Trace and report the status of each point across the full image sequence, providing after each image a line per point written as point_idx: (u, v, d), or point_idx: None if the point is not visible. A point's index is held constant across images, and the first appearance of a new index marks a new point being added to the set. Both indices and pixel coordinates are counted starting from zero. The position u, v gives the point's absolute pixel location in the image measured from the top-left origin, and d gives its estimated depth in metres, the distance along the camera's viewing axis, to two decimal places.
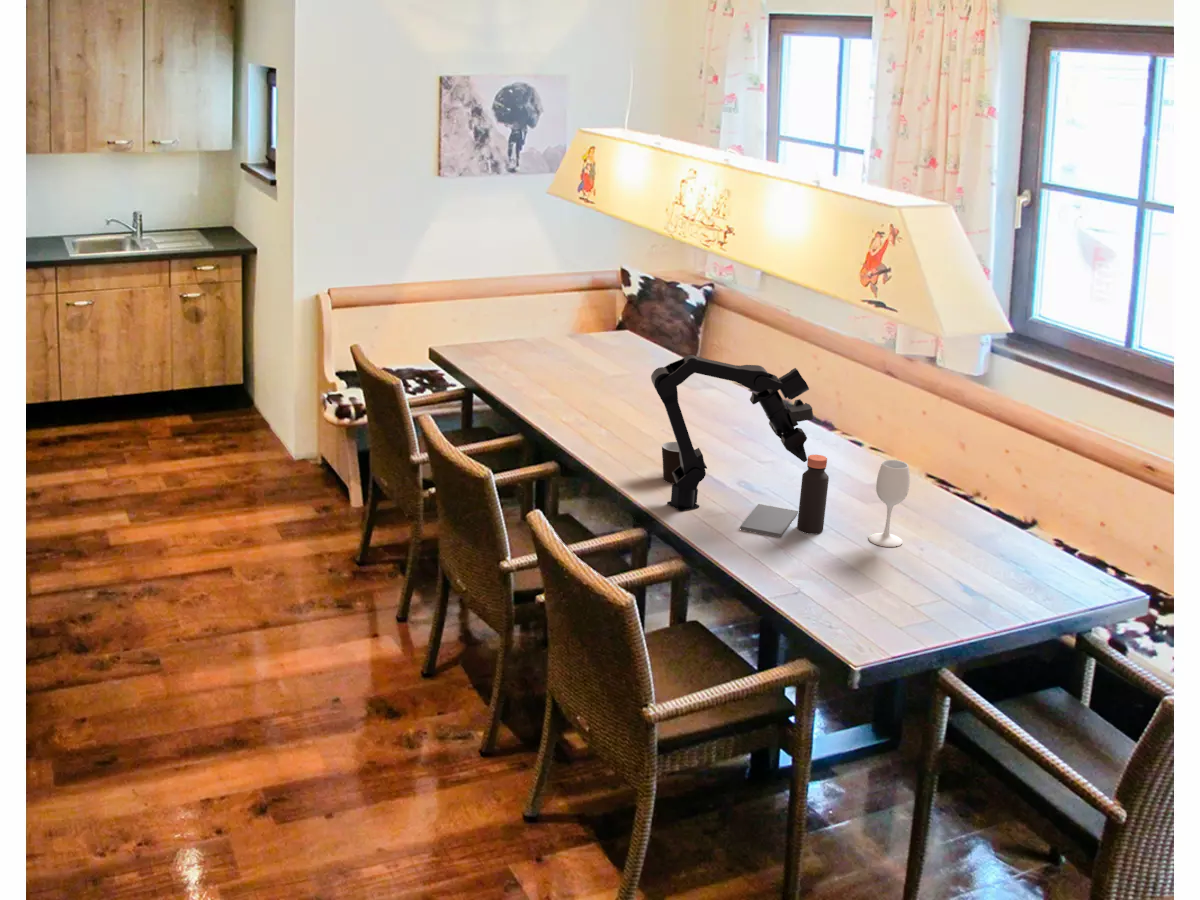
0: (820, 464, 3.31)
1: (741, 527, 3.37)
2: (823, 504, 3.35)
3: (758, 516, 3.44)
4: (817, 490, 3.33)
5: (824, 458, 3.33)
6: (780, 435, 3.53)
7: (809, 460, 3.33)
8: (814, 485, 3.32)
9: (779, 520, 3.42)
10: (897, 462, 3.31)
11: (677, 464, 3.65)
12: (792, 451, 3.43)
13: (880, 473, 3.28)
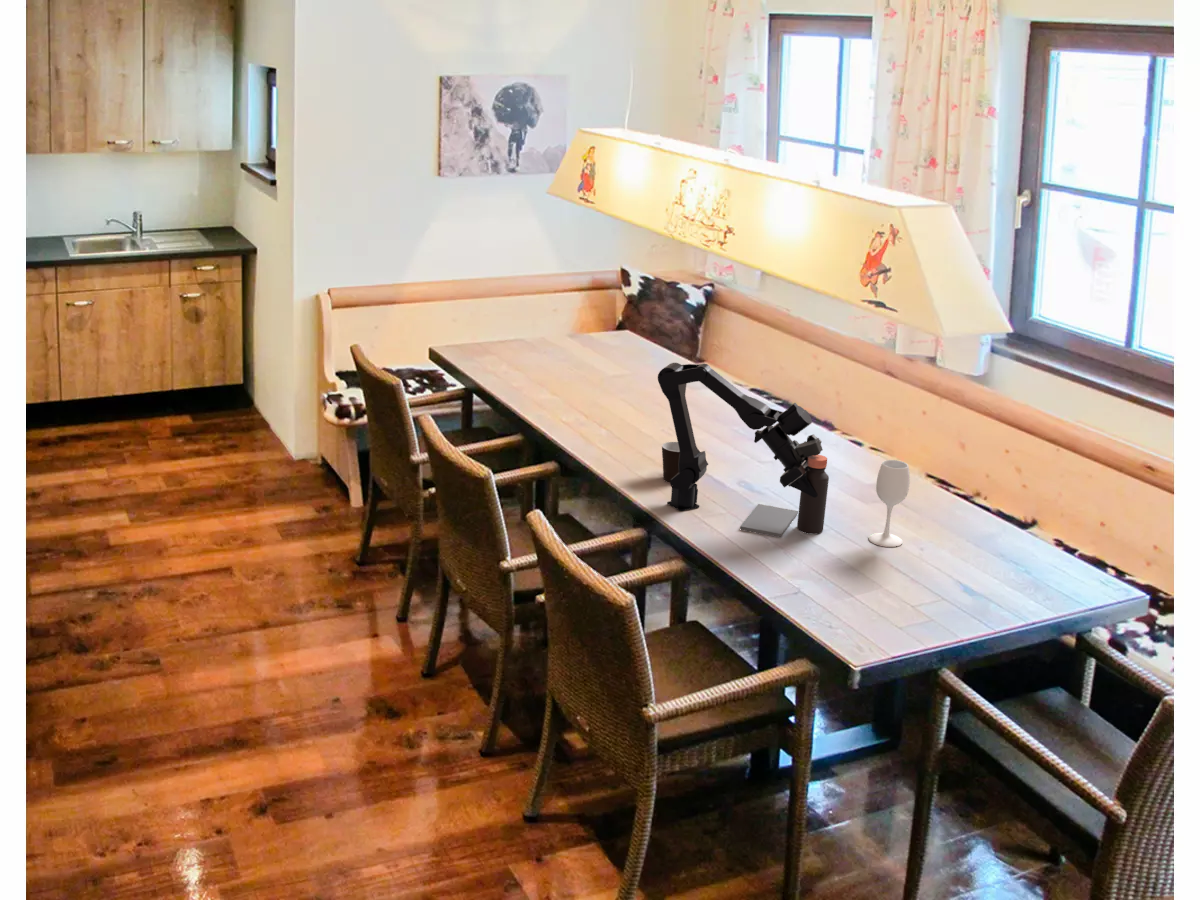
0: (820, 464, 3.31)
1: (741, 527, 3.37)
2: (823, 504, 3.35)
3: (758, 516, 3.44)
4: (817, 490, 3.33)
5: (824, 458, 3.33)
6: None
7: (809, 460, 3.33)
8: (814, 485, 3.32)
9: (779, 520, 3.42)
10: (897, 462, 3.31)
11: (677, 464, 3.65)
12: (796, 487, 3.32)
13: (880, 473, 3.28)
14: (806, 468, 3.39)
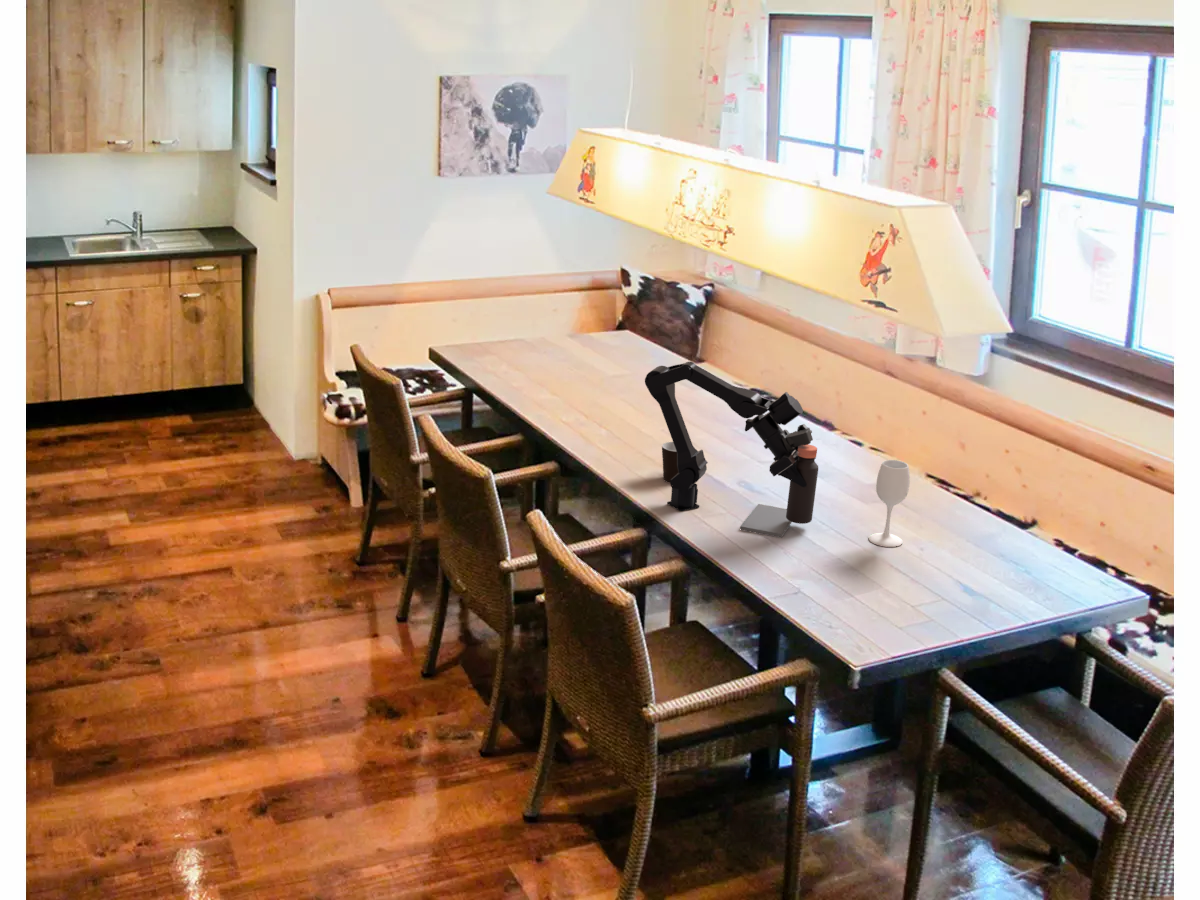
0: (810, 454, 3.32)
1: (741, 527, 3.37)
2: (812, 494, 3.35)
3: (758, 516, 3.44)
4: (807, 480, 3.33)
5: (814, 448, 3.33)
6: None
7: (799, 450, 3.33)
8: (803, 474, 3.33)
9: (779, 520, 3.42)
10: (897, 462, 3.31)
11: None
12: (786, 476, 3.33)
13: (880, 473, 3.28)
14: (796, 458, 3.40)
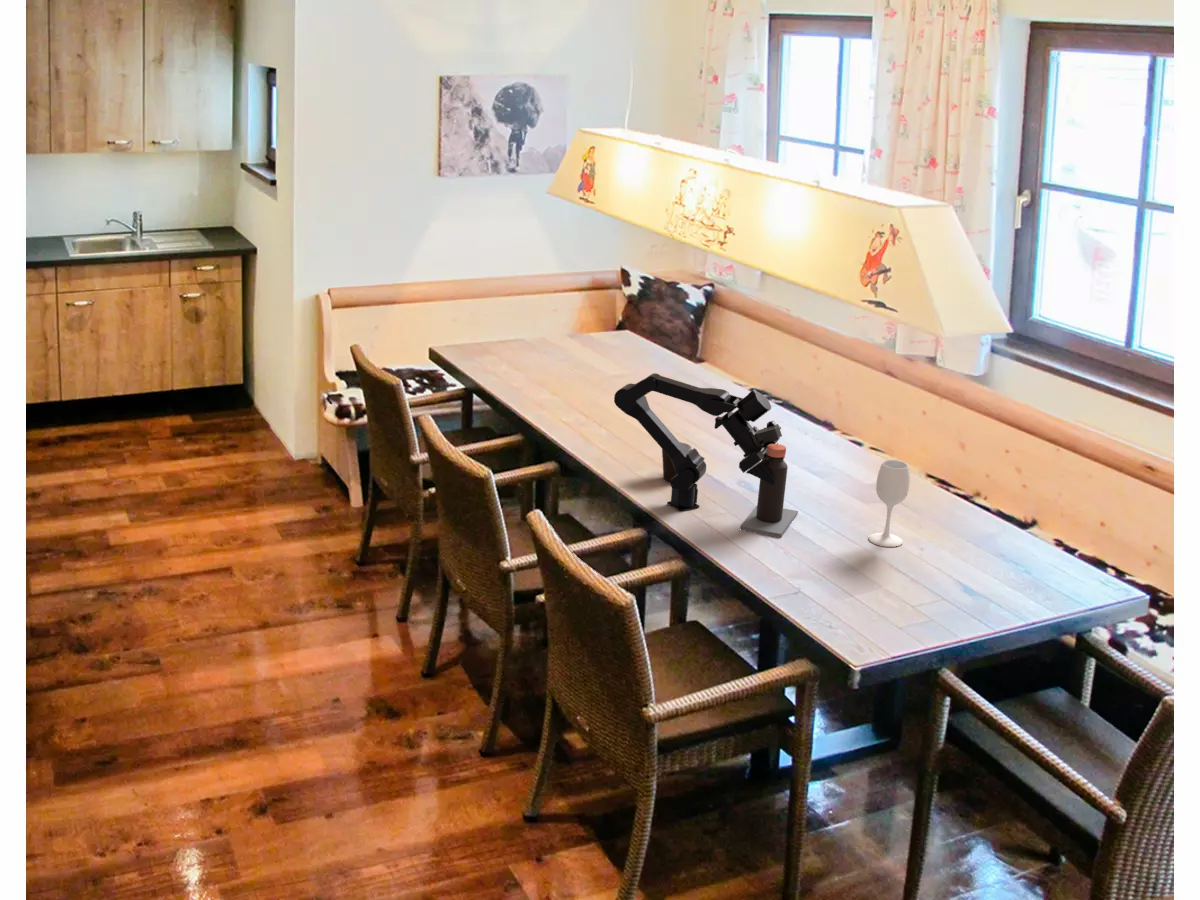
0: (779, 453, 3.35)
1: (741, 527, 3.37)
2: (782, 493, 3.38)
3: None
4: (776, 479, 3.36)
5: (783, 447, 3.36)
6: (763, 459, 3.44)
7: (768, 449, 3.36)
8: (773, 474, 3.36)
9: None
10: (897, 462, 3.31)
11: None
12: (754, 474, 3.34)
13: (880, 473, 3.28)
14: None
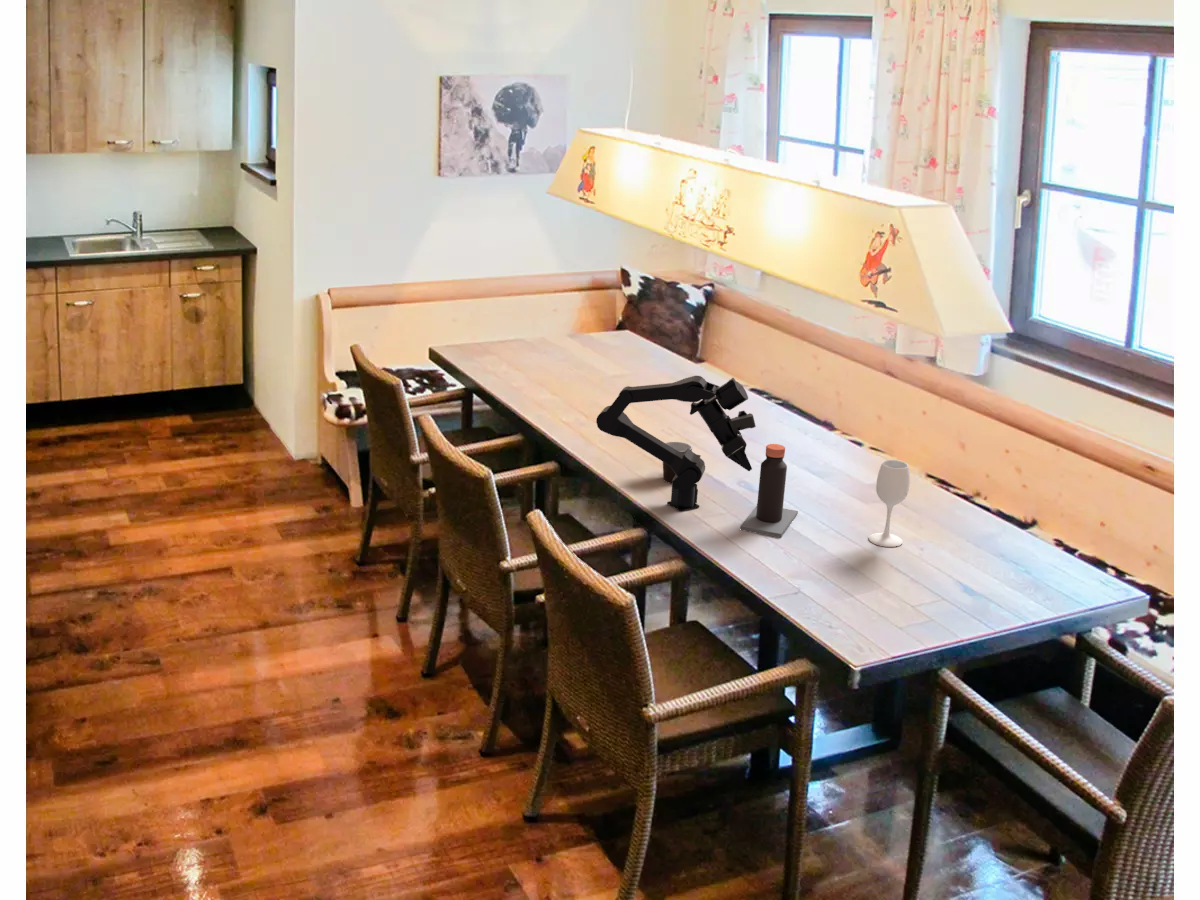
0: (778, 453, 3.35)
1: (741, 527, 3.37)
2: (782, 493, 3.38)
3: None
4: (776, 479, 3.36)
5: (782, 447, 3.36)
6: None
7: (767, 449, 3.36)
8: (772, 474, 3.36)
9: None
10: (897, 462, 3.31)
11: None
12: (734, 459, 3.37)
13: (880, 473, 3.28)
14: None
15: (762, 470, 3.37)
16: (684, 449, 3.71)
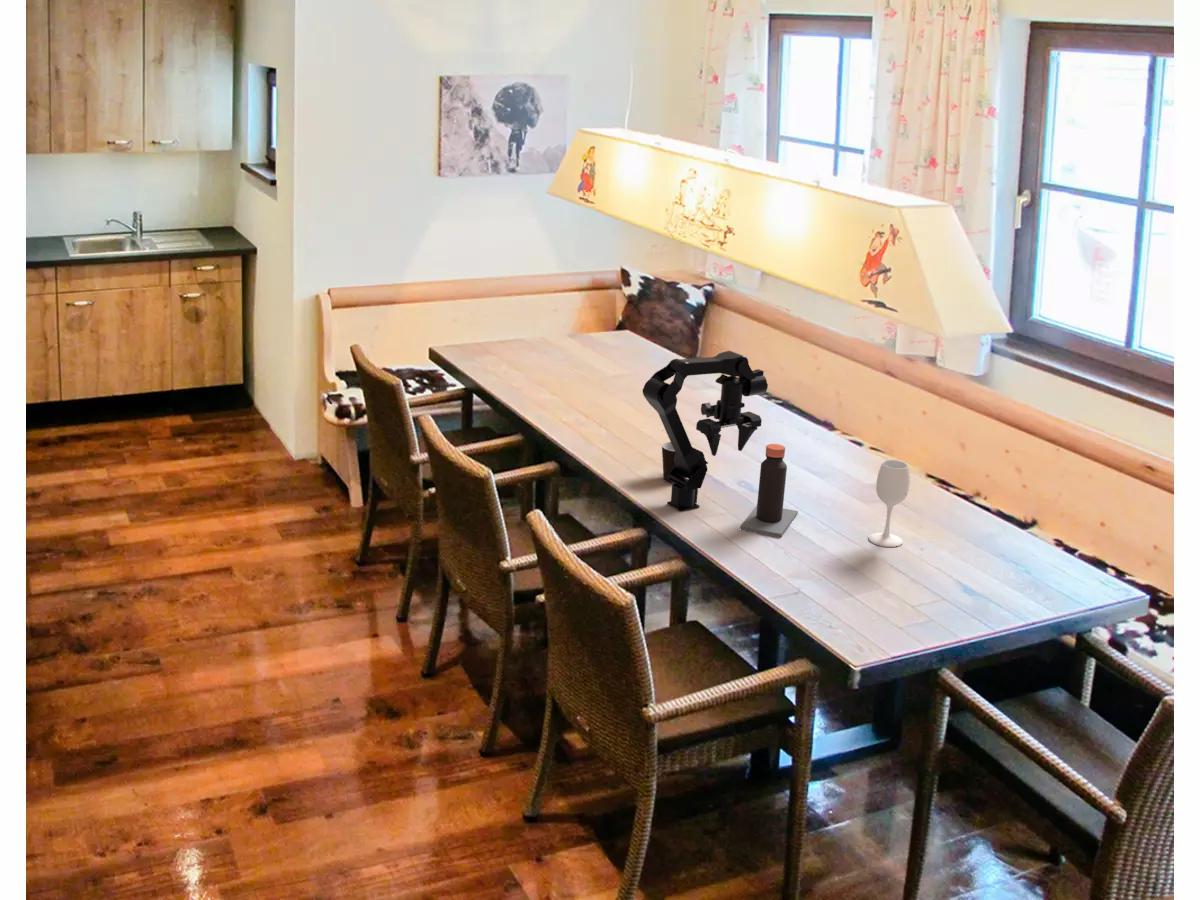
0: (778, 453, 3.35)
1: (741, 527, 3.37)
2: (782, 493, 3.38)
3: None
4: (776, 479, 3.36)
5: (782, 447, 3.36)
6: None
7: (767, 449, 3.36)
8: (772, 474, 3.36)
9: None
10: (897, 462, 3.31)
11: None
12: None
13: (880, 473, 3.28)
14: None
15: (762, 470, 3.37)
16: None
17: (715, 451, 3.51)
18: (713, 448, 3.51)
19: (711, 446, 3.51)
